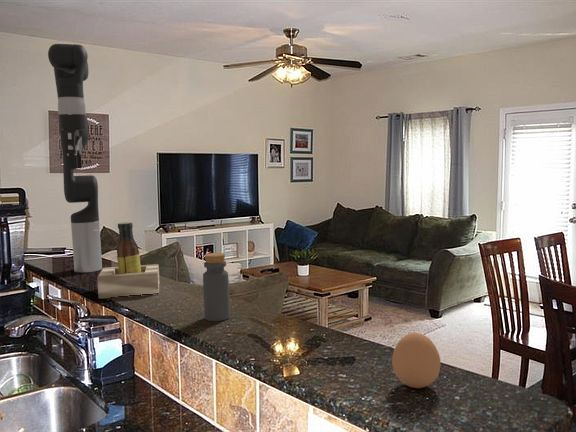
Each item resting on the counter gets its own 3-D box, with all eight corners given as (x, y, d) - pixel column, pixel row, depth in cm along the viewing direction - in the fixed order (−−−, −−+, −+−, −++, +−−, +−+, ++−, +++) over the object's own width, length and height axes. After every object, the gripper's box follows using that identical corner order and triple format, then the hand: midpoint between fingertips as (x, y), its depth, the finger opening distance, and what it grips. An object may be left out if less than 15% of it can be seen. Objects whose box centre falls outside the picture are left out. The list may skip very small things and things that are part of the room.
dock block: (104, 287, 161) (103, 267, 161) (159, 283, 164) (158, 264, 164) (98, 298, 147) (97, 277, 147) (158, 294, 151) (157, 272, 150)
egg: (436, 399, 80) (436, 343, 79) (387, 392, 83) (386, 338, 82) (443, 380, 86) (443, 328, 85) (397, 374, 89) (397, 324, 88)
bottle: (234, 315, 127) (231, 252, 126) (223, 322, 122) (220, 257, 120) (212, 313, 129) (209, 252, 128) (200, 320, 124) (197, 256, 122)
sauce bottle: (145, 288, 159) (141, 221, 157) (137, 293, 153) (133, 223, 151) (124, 288, 160) (120, 221, 158) (115, 293, 153) (111, 224, 151)
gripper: (63, 115, 165) (66, 168, 167) (53, 111, 151) (57, 169, 153) (88, 115, 167) (92, 168, 169) (81, 111, 153) (85, 168, 155)
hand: (75, 168), depth 161 cm, fingers open, 8 cm apart
